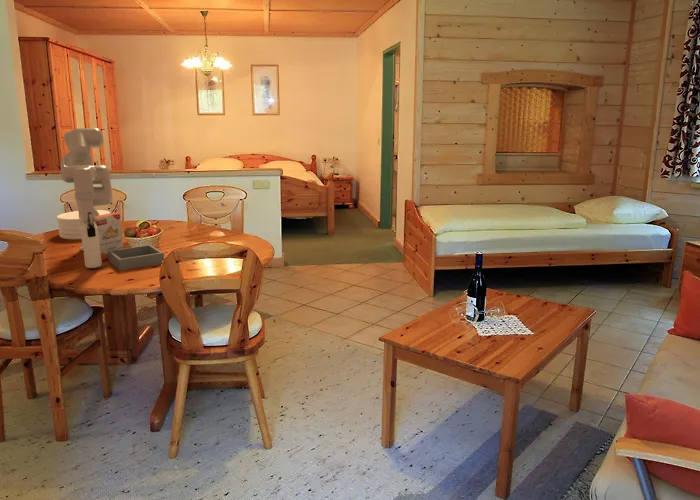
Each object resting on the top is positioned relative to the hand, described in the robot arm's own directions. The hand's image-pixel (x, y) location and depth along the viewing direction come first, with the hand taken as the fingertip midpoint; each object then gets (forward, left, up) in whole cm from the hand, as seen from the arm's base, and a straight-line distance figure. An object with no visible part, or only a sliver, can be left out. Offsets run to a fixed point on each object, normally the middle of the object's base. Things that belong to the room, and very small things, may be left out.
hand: (89, 234), depth 257 cm
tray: (0, +19, -16) cm, 25 cm away
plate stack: (-80, +14, -16) cm, 83 cm away
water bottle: (0, 0, -15) cm, 15 cm away
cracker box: (-18, +11, -16) cm, 26 cm away
